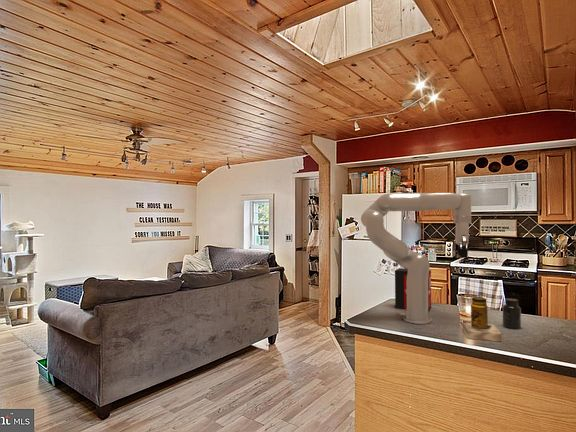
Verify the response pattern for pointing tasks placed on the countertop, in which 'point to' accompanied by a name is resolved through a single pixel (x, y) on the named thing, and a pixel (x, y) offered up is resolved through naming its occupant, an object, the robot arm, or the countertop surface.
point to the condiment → (479, 314)
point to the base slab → (482, 333)
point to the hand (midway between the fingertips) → (462, 256)
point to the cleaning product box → (402, 289)
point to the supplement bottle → (511, 314)
